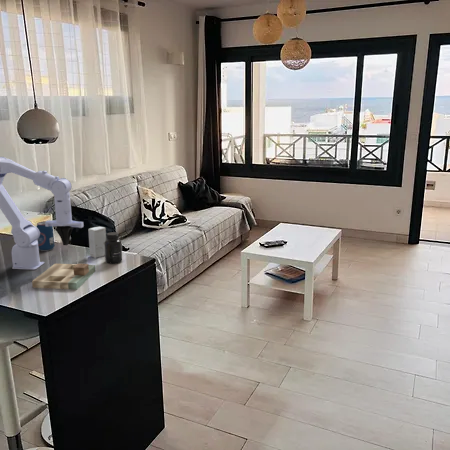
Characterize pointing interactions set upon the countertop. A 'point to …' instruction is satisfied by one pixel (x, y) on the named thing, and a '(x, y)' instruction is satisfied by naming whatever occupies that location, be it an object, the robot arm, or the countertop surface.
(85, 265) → the walnut block
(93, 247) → the skincare box
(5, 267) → the countertop surface
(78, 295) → the countertop surface
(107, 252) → the supplement bottle
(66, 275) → the trap board
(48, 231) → the soda can
